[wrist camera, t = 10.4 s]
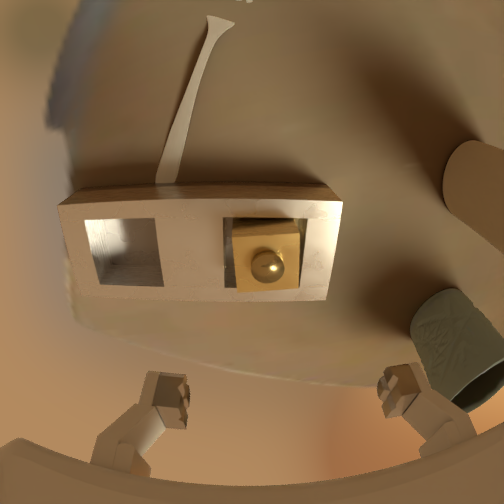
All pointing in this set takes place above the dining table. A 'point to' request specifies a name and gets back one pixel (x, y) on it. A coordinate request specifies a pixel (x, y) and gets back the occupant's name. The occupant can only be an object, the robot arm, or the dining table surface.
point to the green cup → (458, 349)
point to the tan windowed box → (191, 238)
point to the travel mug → (477, 189)
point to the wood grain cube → (265, 253)
